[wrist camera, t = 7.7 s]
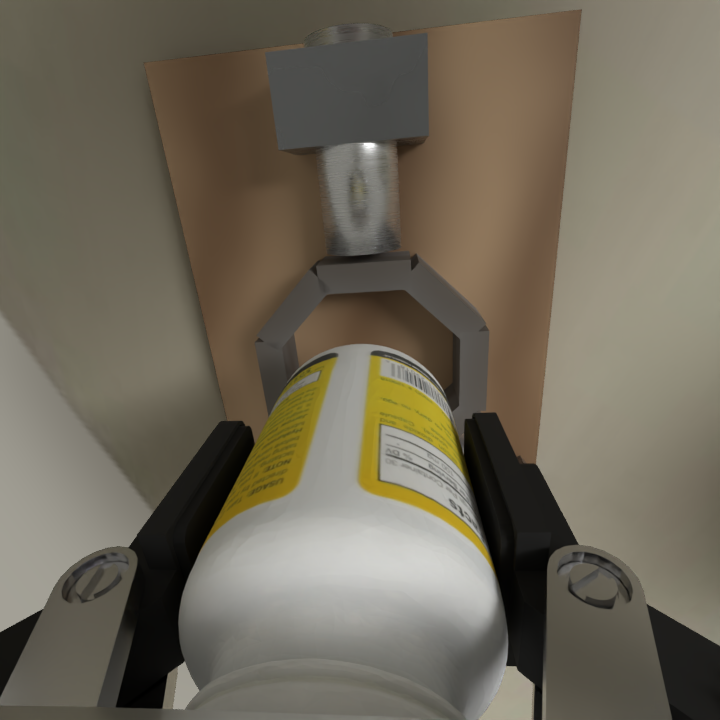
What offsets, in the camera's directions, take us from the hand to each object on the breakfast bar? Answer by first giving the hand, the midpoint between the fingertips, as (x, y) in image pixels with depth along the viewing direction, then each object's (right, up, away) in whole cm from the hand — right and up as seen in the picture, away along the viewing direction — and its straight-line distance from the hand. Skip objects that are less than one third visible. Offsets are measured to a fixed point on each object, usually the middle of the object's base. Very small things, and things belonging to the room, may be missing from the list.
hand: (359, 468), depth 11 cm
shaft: (0, +10, +5) cm, 11 cm away
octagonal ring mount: (+1, +3, +8) cm, 8 cm away
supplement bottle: (0, +1, +2) cm, 3 cm away
